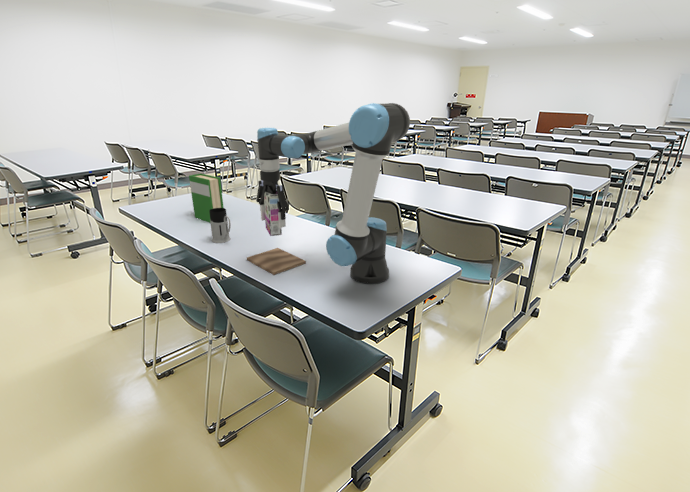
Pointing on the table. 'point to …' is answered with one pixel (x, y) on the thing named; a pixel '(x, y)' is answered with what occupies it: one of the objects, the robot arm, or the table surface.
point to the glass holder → (219, 225)
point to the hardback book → (205, 195)
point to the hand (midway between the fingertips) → (273, 223)
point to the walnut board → (276, 261)
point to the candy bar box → (272, 214)
